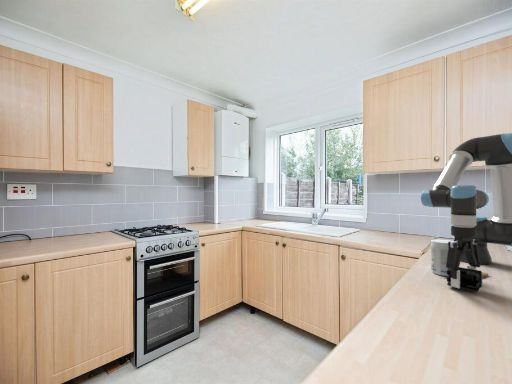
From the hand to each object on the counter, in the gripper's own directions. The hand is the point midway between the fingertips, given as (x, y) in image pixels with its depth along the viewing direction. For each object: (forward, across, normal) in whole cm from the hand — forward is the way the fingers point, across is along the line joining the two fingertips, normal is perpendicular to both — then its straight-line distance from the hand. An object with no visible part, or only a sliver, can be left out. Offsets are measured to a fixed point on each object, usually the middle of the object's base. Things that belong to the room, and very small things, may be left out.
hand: (463, 285), depth 97 cm
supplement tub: (+2, -12, -15) cm, 19 cm away
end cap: (+1, 0, 0) cm, 1 cm away
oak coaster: (+2, -22, -9) cm, 24 cm away
